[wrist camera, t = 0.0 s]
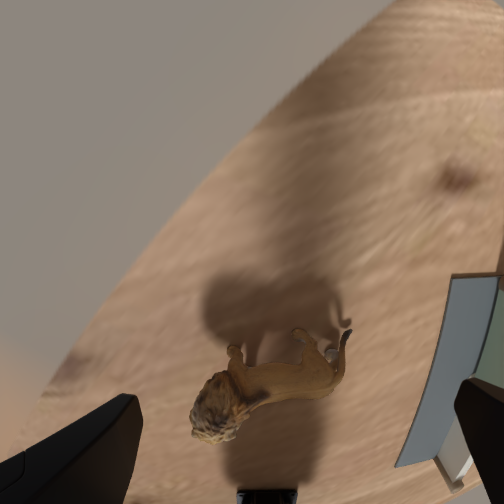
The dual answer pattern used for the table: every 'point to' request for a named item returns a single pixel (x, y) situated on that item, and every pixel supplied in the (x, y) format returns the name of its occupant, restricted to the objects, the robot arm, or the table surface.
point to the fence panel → (494, 346)
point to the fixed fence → (454, 458)
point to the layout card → (451, 364)
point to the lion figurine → (263, 387)
